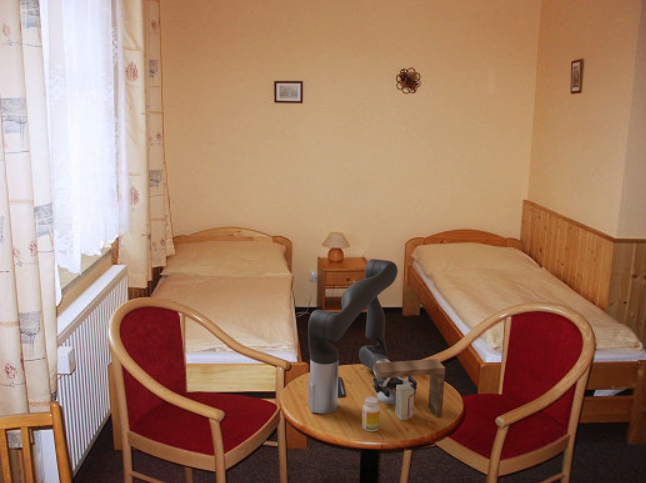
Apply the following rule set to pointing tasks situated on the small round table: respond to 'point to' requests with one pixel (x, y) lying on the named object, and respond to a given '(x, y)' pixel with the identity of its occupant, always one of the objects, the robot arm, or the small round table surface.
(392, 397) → the rubber coaster
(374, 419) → the supplement bottle
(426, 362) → the walnut shelf
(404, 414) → the skincare box
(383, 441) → the small round table surface
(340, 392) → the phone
